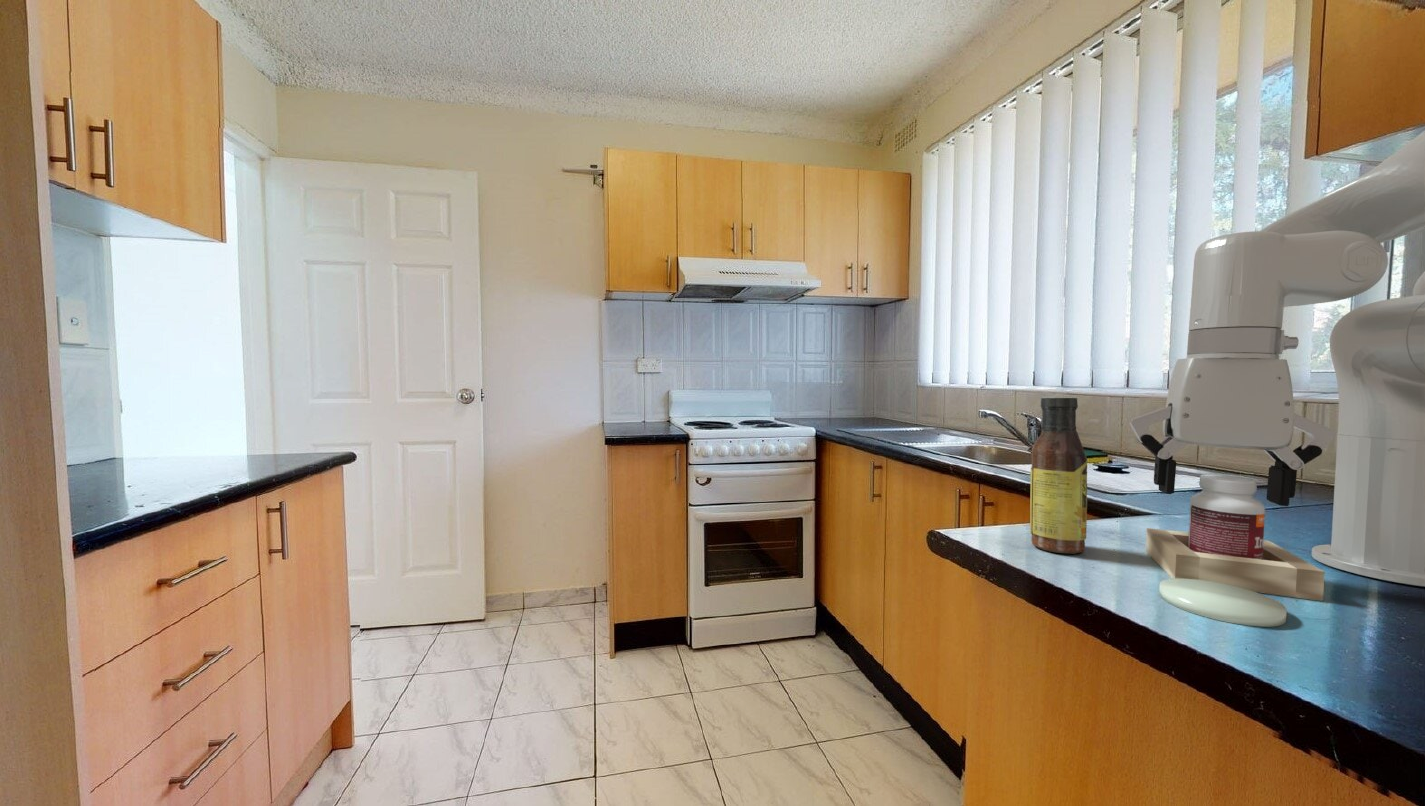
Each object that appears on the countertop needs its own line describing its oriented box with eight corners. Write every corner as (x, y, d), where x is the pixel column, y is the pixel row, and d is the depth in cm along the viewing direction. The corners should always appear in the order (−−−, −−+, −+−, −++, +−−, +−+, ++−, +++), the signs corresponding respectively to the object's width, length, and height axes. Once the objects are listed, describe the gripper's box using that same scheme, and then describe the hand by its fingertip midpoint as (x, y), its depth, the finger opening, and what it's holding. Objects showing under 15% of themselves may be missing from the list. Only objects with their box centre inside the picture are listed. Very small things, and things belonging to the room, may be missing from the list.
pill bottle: (1271, 587, 57) (1276, 485, 57) (1194, 576, 60) (1199, 479, 60) (1250, 570, 63) (1255, 476, 62) (1181, 560, 66) (1185, 471, 65)
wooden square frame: (1267, 565, 64) (1268, 540, 64) (1323, 601, 54) (1324, 571, 54) (1145, 551, 69) (1146, 528, 69) (1174, 581, 59) (1176, 554, 59)
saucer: (1259, 597, 55) (1260, 587, 54) (1307, 634, 46) (1308, 623, 46) (1148, 582, 59) (1148, 573, 59) (1175, 614, 51) (1175, 603, 50)
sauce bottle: (1095, 557, 67) (1101, 398, 66) (1040, 554, 68) (1045, 397, 67) (1071, 542, 73) (1076, 396, 72) (1021, 539, 74) (1025, 395, 73)
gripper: (1320, 350, 60) (1306, 502, 61) (1128, 348, 68) (1118, 483, 68) (1363, 345, 53) (1347, 515, 54) (1144, 344, 61) (1133, 493, 62)
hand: (1219, 497), depth 61 cm, fingers open, 9 cm apart
